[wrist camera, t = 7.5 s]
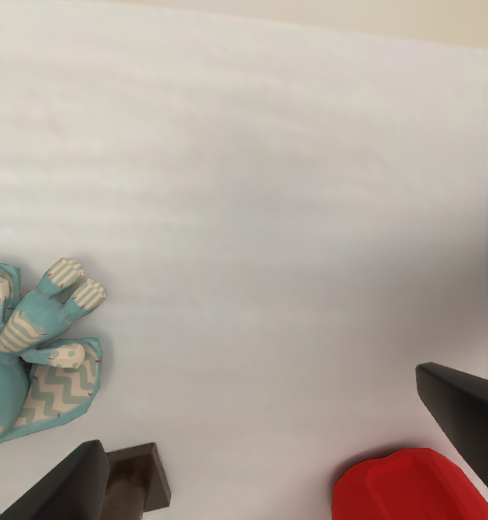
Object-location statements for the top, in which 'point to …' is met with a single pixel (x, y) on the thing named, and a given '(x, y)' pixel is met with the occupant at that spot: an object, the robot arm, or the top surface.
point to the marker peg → (134, 484)
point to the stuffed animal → (46, 350)
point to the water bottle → (407, 489)
